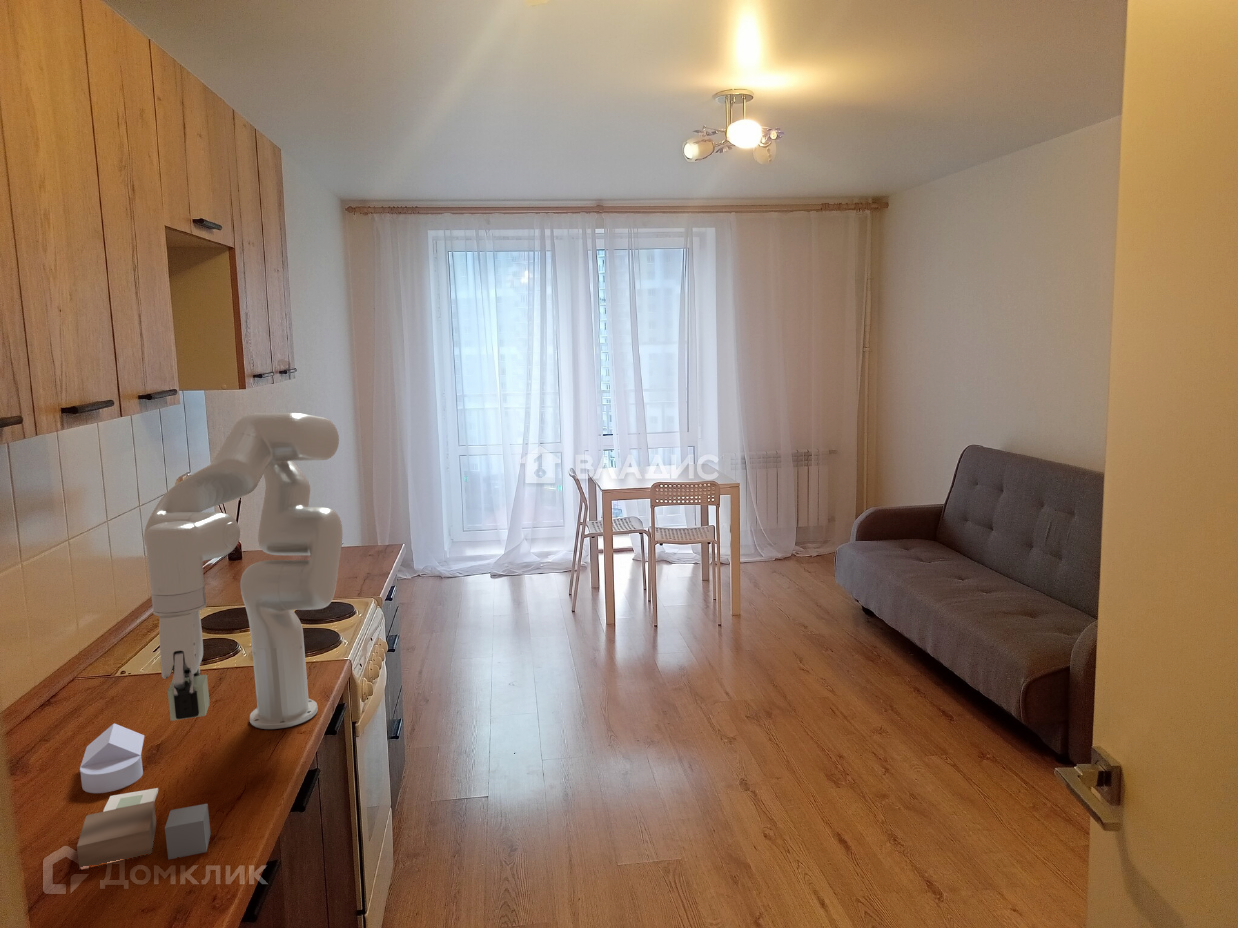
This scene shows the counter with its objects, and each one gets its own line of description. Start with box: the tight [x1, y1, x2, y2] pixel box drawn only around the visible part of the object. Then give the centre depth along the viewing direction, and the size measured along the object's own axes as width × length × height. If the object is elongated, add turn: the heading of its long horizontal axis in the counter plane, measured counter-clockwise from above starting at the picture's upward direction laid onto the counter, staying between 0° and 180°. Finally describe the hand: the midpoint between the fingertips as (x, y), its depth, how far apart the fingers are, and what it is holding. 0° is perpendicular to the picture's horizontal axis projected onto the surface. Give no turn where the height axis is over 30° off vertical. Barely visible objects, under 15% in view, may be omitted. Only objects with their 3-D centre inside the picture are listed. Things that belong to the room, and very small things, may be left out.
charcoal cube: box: [164, 803, 212, 861], centre depth 126 cm, size 5×5×5 cm
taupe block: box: [76, 801, 157, 869], centre depth 127 cm, size 9×9×4 cm
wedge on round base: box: [79, 723, 145, 794], centre depth 148 cm, size 9×7×13 cm
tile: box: [102, 787, 159, 812], centre depth 138 cm, size 7×7×1 cm
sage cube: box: [167, 674, 211, 722], centre depth 137 cm, size 5×5×5 cm
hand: (190, 708), depth 138 cm, fingers closed on sage cube, 4 cm apart
